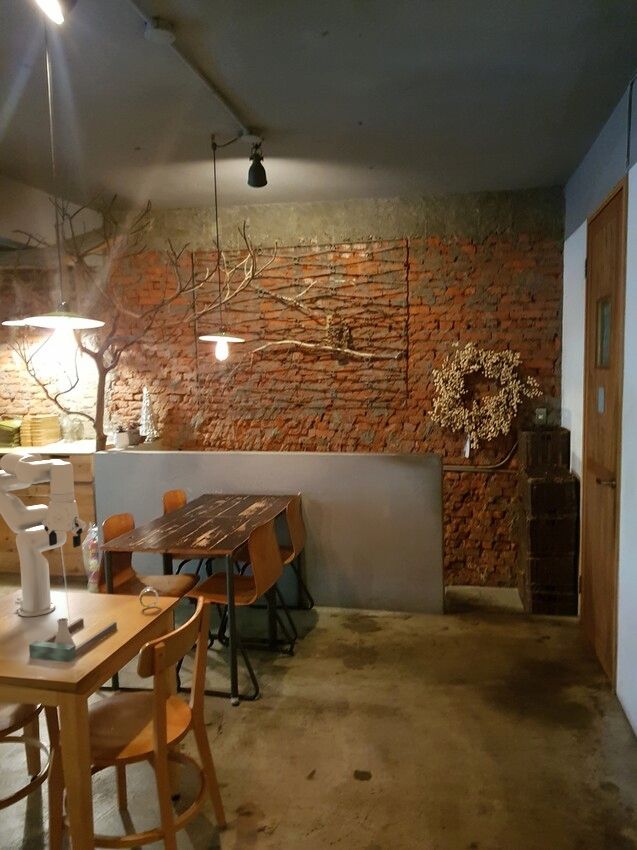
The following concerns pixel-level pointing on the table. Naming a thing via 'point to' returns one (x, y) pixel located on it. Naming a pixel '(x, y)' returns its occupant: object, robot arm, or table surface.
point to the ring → (145, 593)
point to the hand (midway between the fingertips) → (65, 545)
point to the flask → (63, 633)
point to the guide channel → (65, 651)
